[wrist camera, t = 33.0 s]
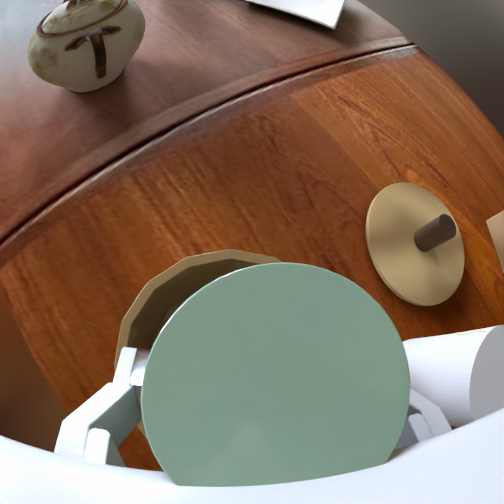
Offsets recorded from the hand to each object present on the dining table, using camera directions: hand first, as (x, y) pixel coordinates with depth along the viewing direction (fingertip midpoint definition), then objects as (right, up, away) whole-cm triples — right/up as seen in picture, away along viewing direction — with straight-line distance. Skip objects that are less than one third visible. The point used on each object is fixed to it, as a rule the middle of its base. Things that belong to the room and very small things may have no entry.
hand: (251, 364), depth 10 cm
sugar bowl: (-21, +28, +22) cm, 41 cm away
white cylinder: (+16, -9, +17) cm, 25 cm away
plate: (+7, +51, +34) cm, 62 cm away
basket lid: (+18, +5, +21) cm, 28 cm away
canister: (-1, -2, +6) cm, 6 cm away
